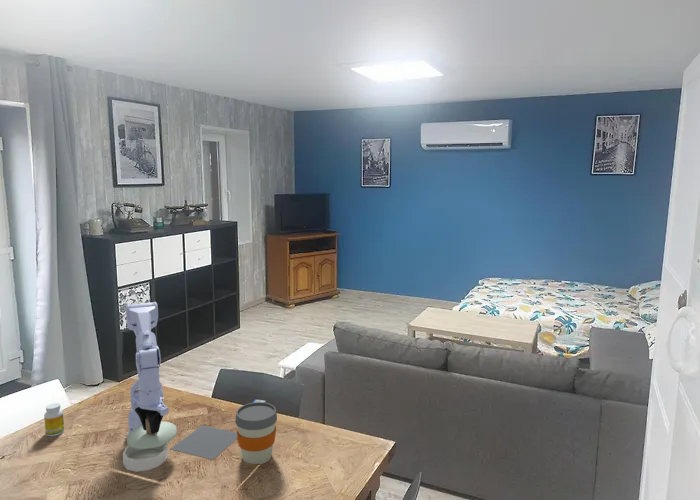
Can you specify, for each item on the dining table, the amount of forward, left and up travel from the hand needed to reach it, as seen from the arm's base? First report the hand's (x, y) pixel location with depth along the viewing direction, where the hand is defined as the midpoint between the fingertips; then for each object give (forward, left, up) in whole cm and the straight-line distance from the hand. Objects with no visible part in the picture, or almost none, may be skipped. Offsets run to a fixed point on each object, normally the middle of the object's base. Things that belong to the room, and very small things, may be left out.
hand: (151, 430), depth 143 cm
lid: (0, 0, -2) cm, 2 cm away
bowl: (-1, -1, -9) cm, 9 cm away
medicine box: (+20, +28, -10) cm, 35 cm away
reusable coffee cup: (+29, +13, -9) cm, 33 cm away
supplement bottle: (-41, +1, -9) cm, 42 cm away
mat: (+10, +14, -9) cm, 19 cm away
